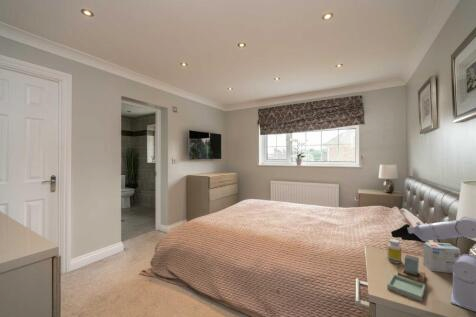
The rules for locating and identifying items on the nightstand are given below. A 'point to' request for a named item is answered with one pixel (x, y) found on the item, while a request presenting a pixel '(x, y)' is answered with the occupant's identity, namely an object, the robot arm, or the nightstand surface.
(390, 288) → the sage tray
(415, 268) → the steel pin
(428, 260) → the light bulb box
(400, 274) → the oak holder
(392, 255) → the supplement bottle
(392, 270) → the nightstand surface
